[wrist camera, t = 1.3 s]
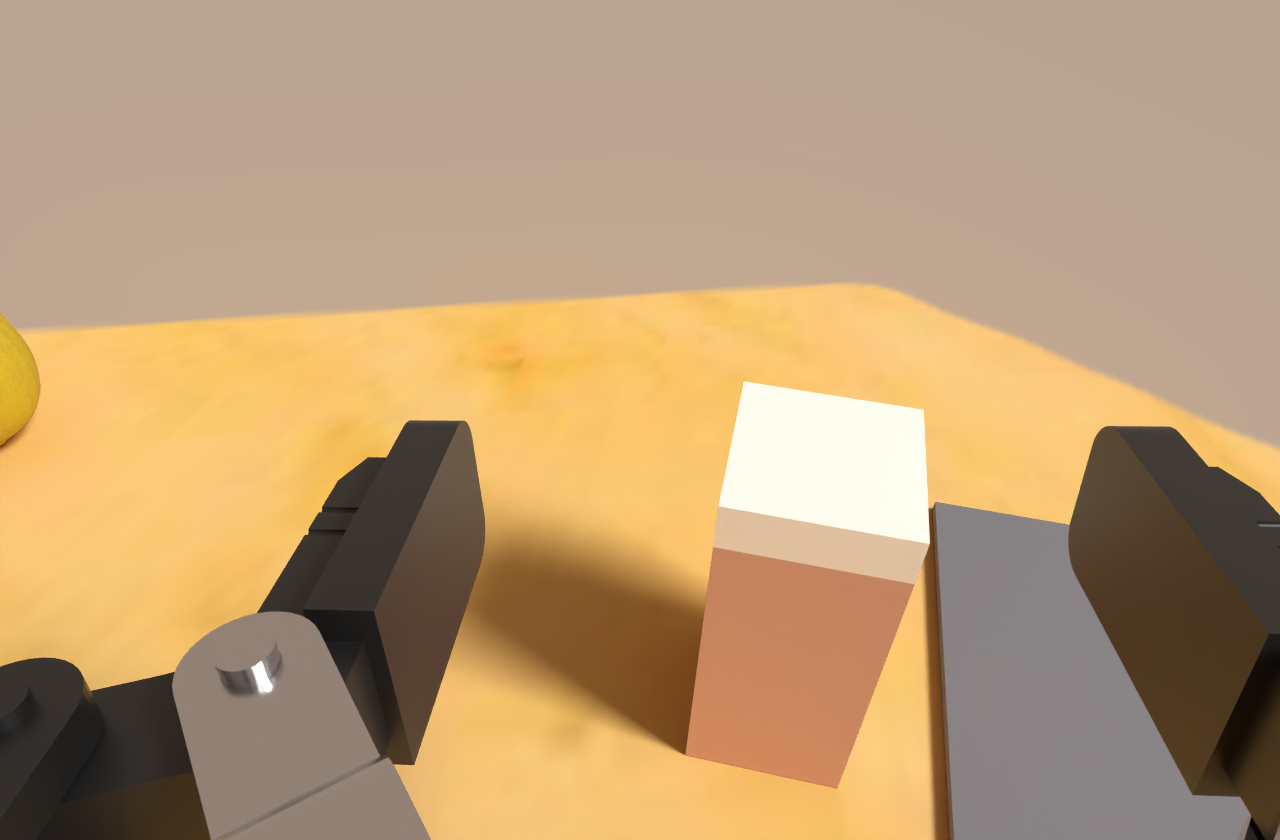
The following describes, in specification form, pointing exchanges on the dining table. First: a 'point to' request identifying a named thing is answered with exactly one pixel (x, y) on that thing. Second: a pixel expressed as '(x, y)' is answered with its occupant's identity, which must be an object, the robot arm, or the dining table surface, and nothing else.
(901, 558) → the block
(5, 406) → the lemon
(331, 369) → the dining table surface
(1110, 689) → the mat
